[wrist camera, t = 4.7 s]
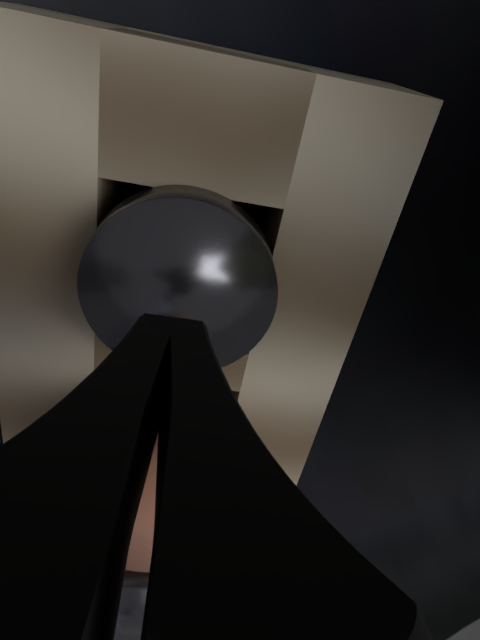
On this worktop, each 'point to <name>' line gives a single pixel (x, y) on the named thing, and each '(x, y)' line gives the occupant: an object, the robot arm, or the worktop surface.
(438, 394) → the worktop surface
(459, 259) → the worktop surface
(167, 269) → the knob
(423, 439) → the worktop surface
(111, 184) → the console
